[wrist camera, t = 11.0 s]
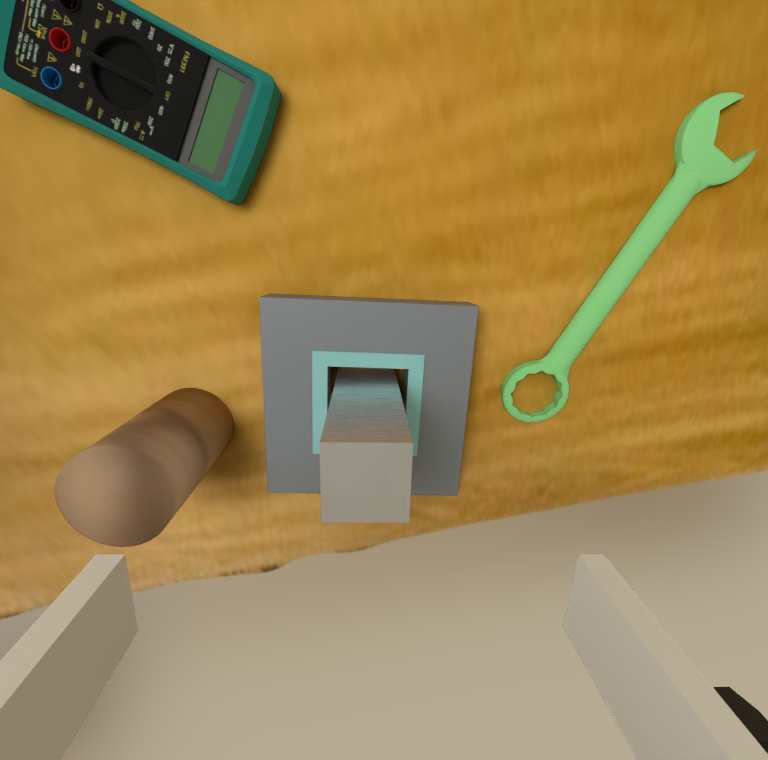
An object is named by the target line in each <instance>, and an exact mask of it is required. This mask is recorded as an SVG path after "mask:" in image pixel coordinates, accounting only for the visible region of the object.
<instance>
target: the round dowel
mask: <svg viewBox="0 0 768 760" xmlns="http://www.w3.org/2000/svg"><path fill="white" fill-rule="evenodd" d="M233 428H234V425H233V419H232V416H231V414H230V411H229V410H228V408H227V407H226V405H225V404H224V403H223V402H222V401H221V400H220V399H219V398H218V397H216V396H215V395H213V394H212V393H209V392H207V391H205V390H201V389H197V388H184V389H179V390H176V391H174V392H171V393H170V394H168V395H167V396H165V397H164V398H162V399H161V400H159V401H158V402H156V403H155V404H153V405H152V406H150V407H149V408H147V409H146V410H144V411H143V412H141V413H140V414H138V415H137V416H135V417H134V418H132V419H131V420H129V421H128V422H126V423H124V424H123V425H121V426H120V427H118V428H117V429H115V430H114V431H112V432H111V433H109V434H108V435H106V436H105V437H103V438H102V439H100V440H99V441H97V442H96V443H94V444H93V445H91V446H90V447H88V448H87V449H85V450H84V451H82V452H81V453H79V454H78V455H76V456H75V457H73V458H72V459H70V460H69V461H68V462H67V463H66V464H65V465H64V466H63V467H62V469H61V470H60V472H59V474H58V476H57V479H56V484H55V497H56V501H57V505H58V507H59V509H60V512H61V513H62V515H63V516H64V518H65V519H66V520H67V522H68V523H69V524H70V525H71V526H72V527H73V528H74V529H75V530H77V531H78V532H79V533H81V534H82V535H84V536H85V537H87V538H89V539H91V540H93V541H96V542H98V543H101V544H105V545H110V546H117V547H129V546H136V545H139V544H143V543H145V542H148V541H150V540H151V539H153V538H155V537H156V536H157V535H159V534H160V533H161V532H162V531H163V529H164V528H165V527H166V525H167V524H168V523H169V522H170V520H171V519H172V518H173V516H174V515H175V514H176V512H177V511H178V510H179V508H180V507H181V506H182V505H183V503H184V502H185V501H186V499H187V498H188V497H189V495H190V494H191V493H192V491H193V490H194V489H195V487H196V486H197V485H198V484H199V482H200V481H201V480H202V478H203V477H204V476H205V474H206V473H207V472H208V470H209V469H210V468H211V467H212V465H213V464H214V463H215V461H216V460H217V459H218V457H219V456H220V455H221V453H222V452H223V451H224V449H225V448H226V447H227V445H228V444H229V443H230V441H231V438H232V435H233Z"/></svg>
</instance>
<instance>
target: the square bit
mask: <svg viewBox="0 0 768 760" xmlns="http://www.w3.org/2000/svg"><path fill="white" fill-rule="evenodd" d="M319 445H320V489H321V523H409V516H410V497H411V477H412V458H413V440H412V436H411V432H410V428H409V424H408V420H407V416H406V413H405V409H404V405H403V401H402V397H401V393H400V389H399V385H398V381H397V377H396V374H395V370H394V369H391V368H361V367H339V370H338V374H337V378H336V382H335V385H334V389H333V393H332V397H331V401H330V404H329V408H328V412H327V416H326V419H325V423H324V427H323V431H322V435H321V438H320V442H319Z"/></svg>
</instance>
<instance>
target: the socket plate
mask: <svg viewBox="0 0 768 760" xmlns="http://www.w3.org/2000/svg"><path fill="white" fill-rule="evenodd" d="M259 301H260V324H261V348H262V371H263V394H264V418H265V441H266V464H267V488H268V493H321V489H320V445H319V442H320V438H321V435H322V431H323V427H324V423H325V419H326V416H327V412H328V408H329V404H330V401H331V367H361V368H391V369H404V378H403V394H402V401H403V405H404V409H405V413H406V416H407V420H408V424H409V428H410V432H411V436H412V440H413V458H412V477H411V495H448V496H458V487H459V478H460V469H461V460H462V452H463V443H464V434H465V425H466V416H467V407H468V398H469V389H470V380H471V372H472V363H473V354H474V345H475V336H476V327H477V318H478V309H479V306H477V305H474V304H472V303H469V302H452V301H429V300H406V299H382V298H359V297H336V296H312V295H289V294H267V295H264V296H261V297H259Z"/></svg>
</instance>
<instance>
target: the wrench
mask: <svg viewBox="0 0 768 760" xmlns="http://www.w3.org/2000/svg"><path fill="white" fill-rule="evenodd" d="M742 97H744V95H741V94H738V93H733V92H727V93H720V94H718V95H715V96H713V97H711V98H708V99H706V100H705V101H703V102H701V103H700V104H698V105H697V106H696V107H695V108H694V109H692V110H691V111H690V113H689V114H688V115H687V116H686V118H685V119H684V121H683V122H682V124H681V126H680V128H679V130H678V133H677V136H676V140H675V144H674V157H675V163H676V168H675V172H674V175H673V177H672V178H671V180H670V181H669V182H668V184H667V185H666V187H665V188H664V189H663V191H662V192H661V194H660V195H659V196H658V198H657V199H656V201H655V202H654V204H653V205H652V206H651V208H650V209H649V211H648V212H647V213H646V215H645V216H644V218H643V219H642V221H641V222H640V223H639V225H638V226H637V228H636V229H635V230H634V232H633V233H632V235H631V236H630V238H629V239H628V240H627V242H626V243H625V245H624V246H623V248H622V249H621V250H620V252H619V253H618V255H617V256H616V257H615V259H614V260H613V262H612V263H611V265H610V266H609V267H608V269H607V270H606V272H605V273H604V274H603V276H602V277H601V279H600V280H599V282H598V283H597V284H596V286H595V287H594V289H593V290H592V291H591V293H590V294H589V296H588V297H587V299H586V300H585V301H584V303H583V304H582V306H581V307H580V309H579V310H578V311H577V313H576V314H575V316H574V317H573V318H572V320H571V321H570V323H569V324H568V326H567V327H566V328H565V330H564V331H563V333H562V334H561V335H560V337H559V338H558V340H557V341H556V343H555V344H554V345H553V347H552V348H551V350H550V351H549V352H548V354H547V355H546V356H545V357H543V358H542V359H540V360H535V361H528V362H525V363H522V364H520V365H518V366H517V367H515V368H514V369H513V370H511V371H510V373H509V374H508V375H507V376H506V378H505V380H504V382H503V385H502V391H501V396H502V401H503V404H504V406H505V408H506V410H507V411H508V413H509V414H510V415H511V416H513V417H514V418H516V419H518V420H520V421H524V422H539V421H543V420H546V419H548V418H550V417H552V416H553V415H555V414H556V413H557V412H559V411H560V410H561V409H562V407H563V406H564V405H565V403H566V401H567V399H568V395H569V383H568V380H567V379H568V375H569V370H570V366H571V365H572V363H573V362H574V361H575V359H576V358H577V356H578V355H579V354H580V352H581V351H582V350H583V348H584V347H585V345H586V344H587V343H588V341H589V340H590V339H591V337H592V336H593V334H594V333H595V332H596V330H597V329H598V327H599V326H600V325H601V323H602V322H603V321H604V319H605V318H606V316H607V315H608V314H609V312H610V311H611V310H612V308H613V307H614V305H615V304H616V303H617V301H618V300H619V298H620V297H621V296H622V294H623V293H624V292H625V290H626V289H627V287H628V286H629V285H630V283H631V282H632V281H633V279H634V278H635V276H636V275H637V274H638V272H639V271H640V269H641V268H642V267H643V265H644V264H645V263H646V261H647V260H648V258H649V257H650V256H651V254H652V253H653V251H654V250H655V249H656V247H657V246H658V245H659V243H660V242H661V240H662V239H663V238H664V236H665V235H666V234H667V232H668V231H669V229H670V228H671V227H672V225H673V224H674V222H675V221H676V220H677V218H678V217H679V216H680V214H681V213H682V211H683V210H684V209H685V207H686V206H687V205H688V203H689V202H690V200H691V199H692V198H693V196H694V195H696V194H697V193H699V192H700V191H702V190H703V189H705V188H706V187H709V186H715V185H719V184H723V183H725V182H728V181H730V180H732V179H734V178H735V177H737V176H738V175H739V174H740V173H741V172H743V171H744V169H745V168H746V167H747V166H748V165H749V164H750V162H751V160H752V159H753V157H754V156H755V153H756V151H757V150H754V151H750V152H748V153H747V154H745V155H743V156H741V157H739V158H738V159H736V160H734V161H731V160H730V159H729V158H728V157H726V156H725V155H724V154H723V153H722V152H721V151H720V150H719V149H717V148H716V147H715V146H714V141H715V137H716V132H717V127H718V121H719V115H720V110H721V109H723V108H725V107H727V106H728V105H730V104H732V103H734V102H735V101H737V100H739V99H740V98H742ZM540 371H543V372H545V373H546V374H552V375H553V376H554V377H555V378H556V380H557V381H556V385H557V388H558V391H557V393H556V394H555V395H554V401H553V403H551V404H549V405H547V406H546V407H545V409H544V410H543V411H535V412H533V413H531V414H529V413H527V412H526V411H518V409H517V407H516V406H515V405H514V404H512V403H513V398H512V396H511V393H512V392H513V391H514V389H515V386H516V382H518V381H520V380H522V379H524V377H525V376H526V375H527V374H536V373H538V372H540Z"/></svg>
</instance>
